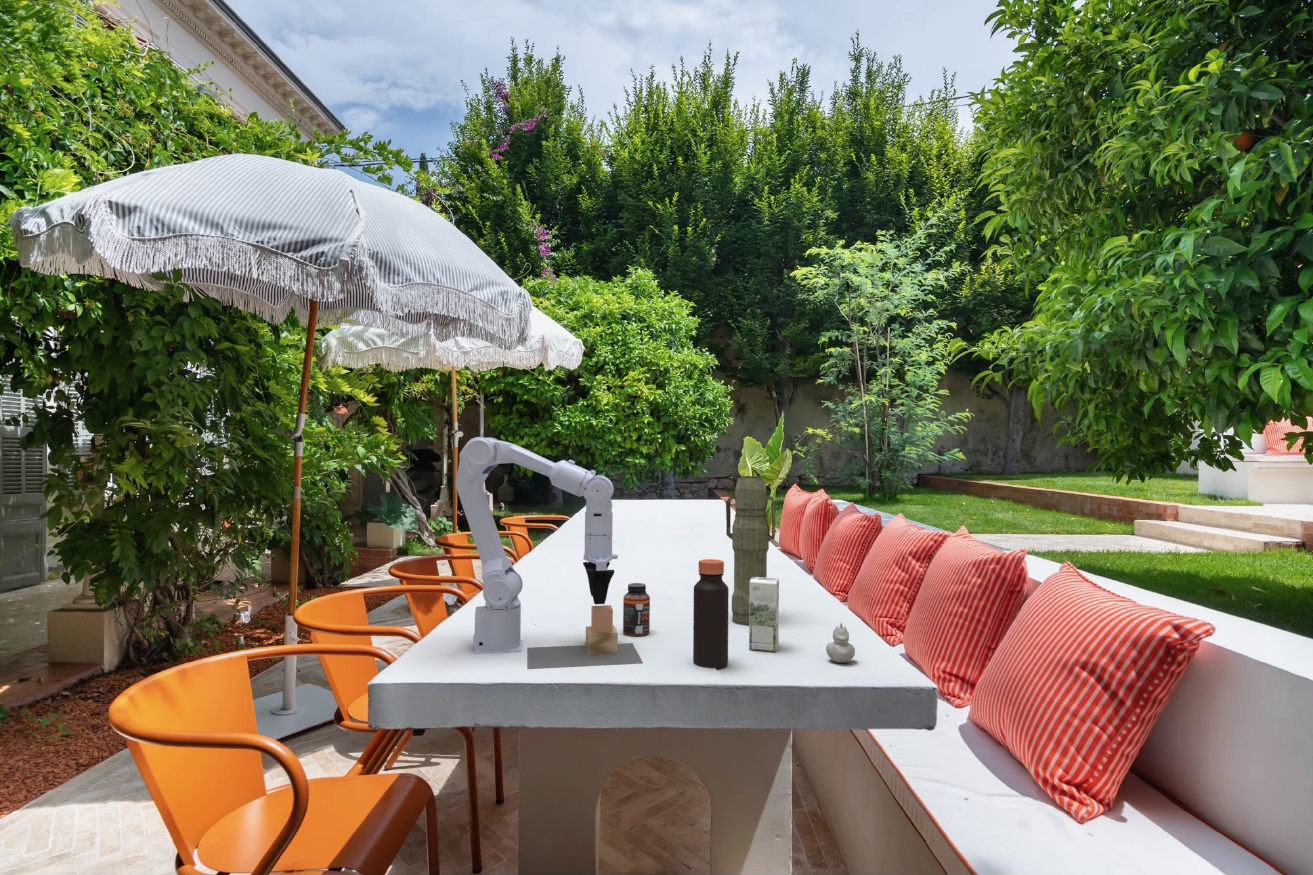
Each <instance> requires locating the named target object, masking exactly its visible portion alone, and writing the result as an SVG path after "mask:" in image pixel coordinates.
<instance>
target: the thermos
mask: <svg viewBox="0 0 1313 875" xmlns="http://www.w3.org/2000/svg"><path fill="white" fill-rule="evenodd" d="M734 492H735V493H734V495H730V496H729V497H728V498H727V500H726V502H725V517H726V518H725V522H726V527H725V528H726V529H725V530H726V536H727V537H728V538H729V539H731V541H732V543H731V544H732V546H731V547H732V550H733V552H734V553H733V556H734V557H733V564H734V566H733V592H732V596H731V612H732V616H731V617H732V618H731V619H732V620H731V621H732V622H733V624H737V625H741V626H747V627H749V584H750V580H751V578H752V577H764V578H768V574H767V573H768V572H767V567H768V566H767V564H768V563H767V562H768V560H767V559H768V558H767V557H768V554H767V553H768V552H769V549H770V548H769V546H770V544H769V543H770V541H771V540H775V536H776V501H775V499H774V498H773V497H772V496H771V495H768V494H767V486H766V483H765V479H764V477H763V478H762V477H761V476H759V475H758V476H757V475H756V476H755V475H753V476H752V475H744V476H743V475H742V476H741V477H738V479H737V481H736V486H735V490H734ZM733 500H734V508H735V514H734V520H733V524H732V527H731V512H732V511H731V506H732V505H731V504H732V502H731V501H733ZM767 501H771V533H770V526H769V523H768V521H767V513H766V512H767V511H766V510H767ZM731 528H732V530H731ZM731 531H732V532H731Z"/></svg>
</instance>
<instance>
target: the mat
mask: <svg viewBox="0 0 1313 875" xmlns="http://www.w3.org/2000/svg"><path fill="white" fill-rule="evenodd" d="M526 648H527V649H526V655H527V657H526V659H527V662H526V666H527V667H526V669H527V670H536V669H537V670H538V669H558V668H559V669H560V668H577V667H578V668H579V667H580V668H581V667H592V666H593V667H599V666H617V665H618V666H619V665H639V664H641V665H642V664H644V662H643V660H642V658H641V656H640V654H639V652H638V651H637V648H636V647H635V645H634V643H633V642H627V643H625V642H624V643H623V642H622V643H621V642H620V643H618V653H602V654H588V652H587V649H586V644H580V645H559V646H558V645H555V646H553V645H552V646H535V647H526Z"/></svg>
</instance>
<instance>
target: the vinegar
mask: <svg viewBox="0 0 1313 875" xmlns="http://www.w3.org/2000/svg"><path fill="white" fill-rule="evenodd" d="M724 566H725V562H724V560H721V559H715V558H714V559H713V558H710V559H700V560H698V575H699V580H698V581H697V582H696V583H695V584H694V586H693V628H692V629H693V630H692V632H693V635H692V640H693V641H692V648H693V649H692V650H693V651H692V652H693V653H692V656H693V658H692V661H693V665H695V666H697V667H700V668H707V669H716V670H717V669H718V670H720V669H723V668H726V667H727V666H728V664H729V586H728V584H727V583H725V581H724V580H723V576H724V572H725V567H724Z"/></svg>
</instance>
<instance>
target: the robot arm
mask: <svg viewBox="0 0 1313 875" xmlns="http://www.w3.org/2000/svg"><path fill="white" fill-rule="evenodd" d="M468 440H469V439H468ZM512 463H513V464H516V465H518V466H520V467H523V468H526V469H528V470H531V471H533V472H536V473H539V474H541V475H542V476H543V475H544V476H546V477H548V478H549V481H550V483H551V485H552V486H554V487H556V488H557V489H560V490H563V491H565V492H568V493H570V494H572V495H574V496H577V497H583V498H584V499H585V500H586V501H585V502H586V503H585V512H584V554H583V560H584V561H583V562H582V564H583V567H584V569H585V572H586V575H587V579H588V580H587V581H588V587H589V592H590V596H591V597H592V600H593V604H594V605H605V604H606V601H607V596H608V591H609V587H610V583H611V582H612V581H611V580H612V579H613V576H614V574H615V570H614V569H608V568H609V566H610V564H611V563H610V562H611V561H613V560H618V559H619V558H618V557H619V555H618V554H614V553H613V516H614V515H613V511H612V509H613V502H612V496H613V495H614V491H615V489H614V485H613V483H612V481H611V480H610V478H608V477H606V476H605V475H603V474H597V475H596V473H597V471H596V470H593V469H591V470H588V469H585V468H583V467H581V466H579V465H576V464H575V463H576V461H574V460H573V459H569V460H568V461H567V460H565V459H562V460H560V461H557V462H554V461H552V460H549V459H547V458H545V457H543V456H542V455H541V456H540V455H539V454H536V453H534V452H532V451H531V450H528V449H527V448H524V447H521V446H519V445H517V444H514V443H513V442H512V443H511V442H508V441H503V440H499V439H497V438H494V437H488V436H487V437H484V436H482V437H481V436H475V437H474V438H473V437H472V438H470V440H469V441H467V443H466V444H465V445H464V446H463V448H462V450H461V451H460V453H459V463H458V469H457V474H456V477H455V487H456V490H457V493H458V497H459V500H460V503H461V506H462V509H463V512H464V514H465V517H466V520H467V521H466V522H467V523H468V527H469V530H470V533H471V535H472V538H473V541H474V544H475V547H476V551H477V552H478V556H479V560H480V562H481V566H482V567H481V578H482V581H483V588H482V595H483V596H482V597H483V600H484V601H485V603H484V605H481V606H476V607H475V612H474V634H473V645H474V648H473V649H474V651H473V653H474V654H475V655H477V654H478V655H479V654H497V653H499V654H500V653H519V652H520V653H521V652H523V639H521V633H522V632H521V631H522V630H521V622H522V621H521V619H522V618H521V616H522V614H521V613H522V606H521V604H522V602H521V601H520V598H519V594H520V593H521V592H522V590H523V578H522V577H521V575H520V573H519V572H517V571H516V570H515V568H514V566H513V563H512V561H511V560H510V559H509V557H508V556H507V555H506V552H505V549H504V546H503V543H502V539H501V537H500V533H499V532H498V531H499V530H498V528H497V525H496V522H495V520H494V516H493V513H492V511H491V507H490V504H489V501H488V498H487V495H486V492H485V490H484V483H485V481H486V479H487V478H488V476H489V475H490V473H491V471H493V470H494V469H495V468H496V467H497V466H498V465H499V464H500V465H501V464H512Z"/></svg>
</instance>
